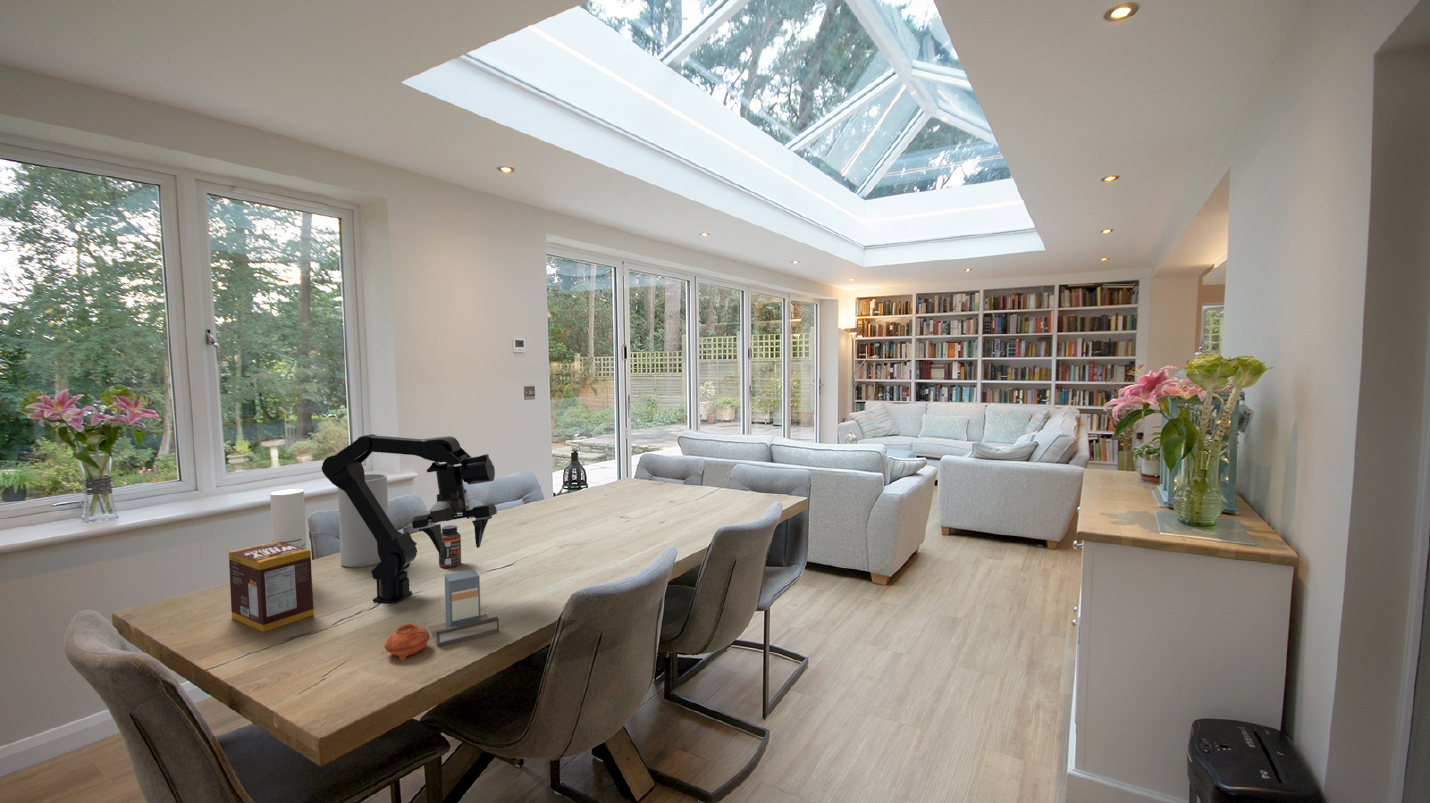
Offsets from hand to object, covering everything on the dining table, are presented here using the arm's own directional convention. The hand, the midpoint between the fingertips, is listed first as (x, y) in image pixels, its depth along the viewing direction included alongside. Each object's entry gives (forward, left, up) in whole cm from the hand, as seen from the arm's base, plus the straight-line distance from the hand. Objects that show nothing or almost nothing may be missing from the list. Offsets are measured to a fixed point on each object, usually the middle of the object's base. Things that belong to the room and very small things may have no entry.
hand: (459, 550), depth 147 cm
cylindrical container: (-49, +3, -12) cm, 51 cm away
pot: (+6, -29, -13) cm, 32 cm away
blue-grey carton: (+11, -18, -11) cm, 24 cm away
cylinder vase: (-44, +24, -12) cm, 52 cm away
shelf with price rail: (+12, -18, -12) cm, 25 cm away
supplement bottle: (-17, +24, -12) cm, 32 cm away
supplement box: (-37, -15, -13) cm, 42 cm away
